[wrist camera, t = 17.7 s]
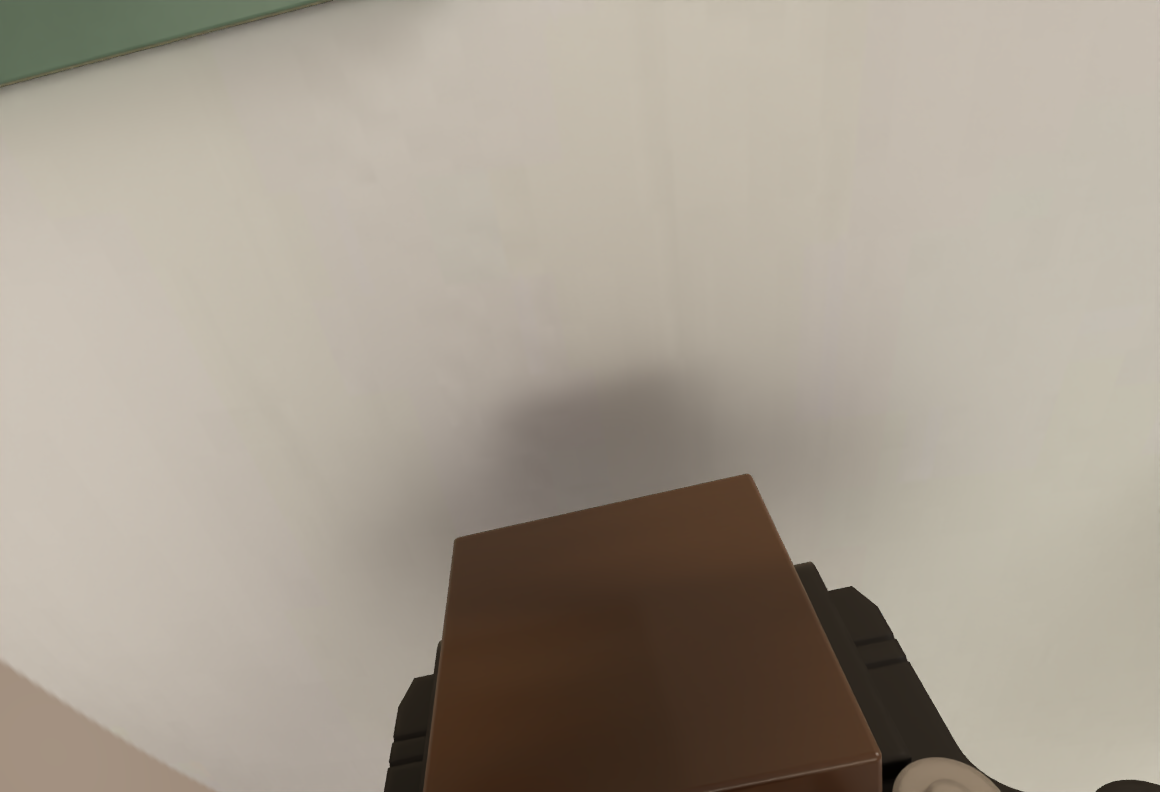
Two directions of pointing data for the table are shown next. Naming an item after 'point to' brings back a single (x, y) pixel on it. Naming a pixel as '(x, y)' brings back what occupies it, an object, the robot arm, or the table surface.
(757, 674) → the walnut block
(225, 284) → the table surface
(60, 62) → the base
